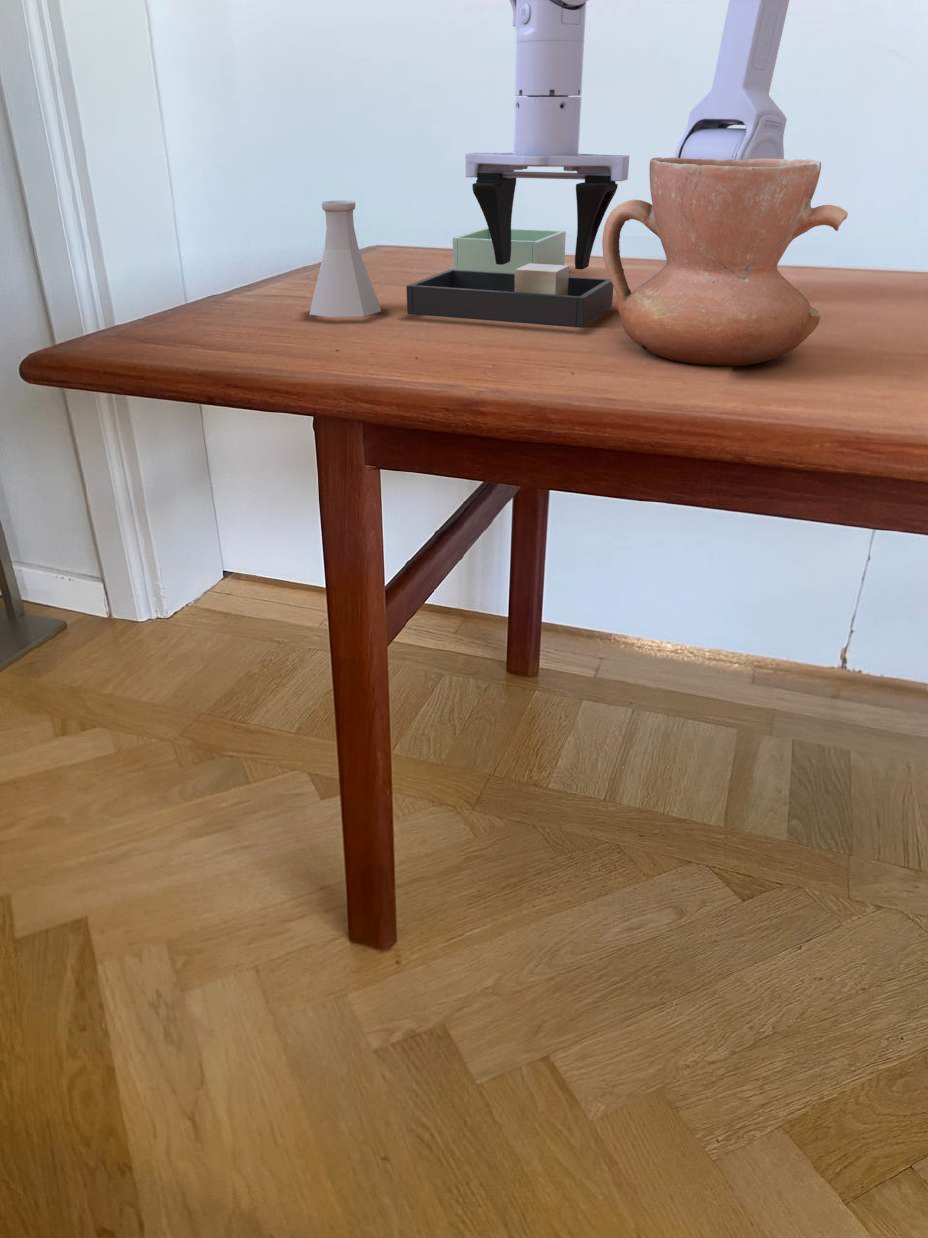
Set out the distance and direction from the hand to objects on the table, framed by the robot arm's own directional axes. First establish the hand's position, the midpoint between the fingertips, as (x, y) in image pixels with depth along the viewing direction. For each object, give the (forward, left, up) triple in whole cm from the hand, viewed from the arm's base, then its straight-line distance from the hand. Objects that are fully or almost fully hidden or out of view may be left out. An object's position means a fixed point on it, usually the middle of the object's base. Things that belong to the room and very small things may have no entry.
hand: (541, 265), depth 86 cm
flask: (+18, +5, -5) cm, 19 cm away
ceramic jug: (-17, +9, -5) cm, 20 cm away
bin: (+11, -22, -5) cm, 25 cm away
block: (0, 0, -4) cm, 4 cm away
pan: (+3, 0, -5) cm, 6 cm away
